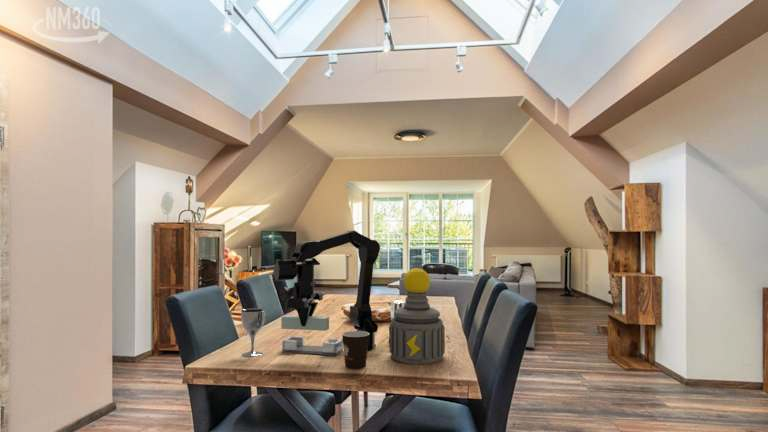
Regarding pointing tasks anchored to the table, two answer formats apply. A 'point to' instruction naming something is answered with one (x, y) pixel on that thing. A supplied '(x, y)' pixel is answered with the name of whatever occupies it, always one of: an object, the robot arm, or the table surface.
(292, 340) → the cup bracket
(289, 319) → the rail
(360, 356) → the coffee mug
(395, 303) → the beer glass
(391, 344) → the decorative lamp
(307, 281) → the robot arm
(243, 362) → the table surface
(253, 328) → the wine glass
